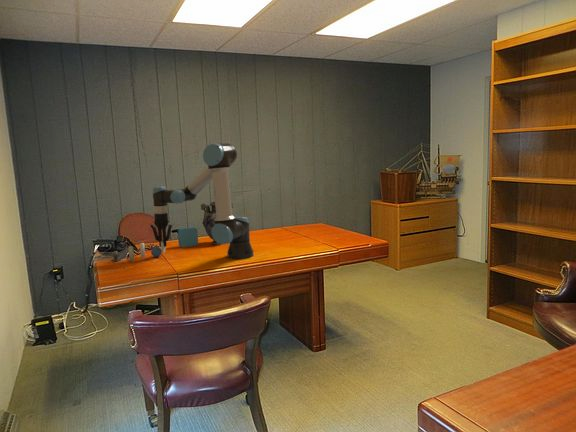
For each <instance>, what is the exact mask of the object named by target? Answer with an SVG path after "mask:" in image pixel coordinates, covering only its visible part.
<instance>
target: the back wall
mask: <svg viewBox="0 0 576 432" xmlns="http://www.w3.org/2000/svg"><path fill="white" fill-rule="evenodd" d="M128 252H129V247H127V248H125V249H123V250H121V251H119V252H117V253H115V254H114V255H113V261H114V263H119V262H120V261H122V260H124V259H125V257H126V255H127V253H128ZM123 258H124V259H123ZM126 258H127V257H126Z"/></svg>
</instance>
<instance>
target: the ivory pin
mask: <svg viewBox="0 0 576 432" xmlns="http://www.w3.org/2000/svg"><path fill="white" fill-rule="evenodd" d="M139 249H140V258H142V259H144V258H146V250H145V249H146V248H145V242H140V243H139Z"/></svg>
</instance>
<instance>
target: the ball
mask: <svg viewBox="0 0 576 432" xmlns="http://www.w3.org/2000/svg"><path fill="white" fill-rule="evenodd" d="M150 253H151V256H152V257H154V258H158V257H160V256H161V255H162V253H161V247H160V246H155V247H152V249H151V250H150Z"/></svg>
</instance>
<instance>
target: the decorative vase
mask: <svg viewBox="0 0 576 432" xmlns="http://www.w3.org/2000/svg"><path fill="white" fill-rule="evenodd" d="M231 206H232V209H233V202H231ZM200 208H201V209H200V210H202V211H204V212H203V221H202V226H203V227H204V229H205V232H206V234H207V235H208V237H209V238H210V239H211V240H213V241H211V243H212V245H215V244H219V243H217V242H216V241H215V240H214V239H213V237H212V232H211V231H212V228H213V226H214V225H215V223H214V219H215V218H216V216H217V215H216V206H215V201H212V202H210V204H207V203H201V204H200ZM219 245H220V244H219Z"/></svg>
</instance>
